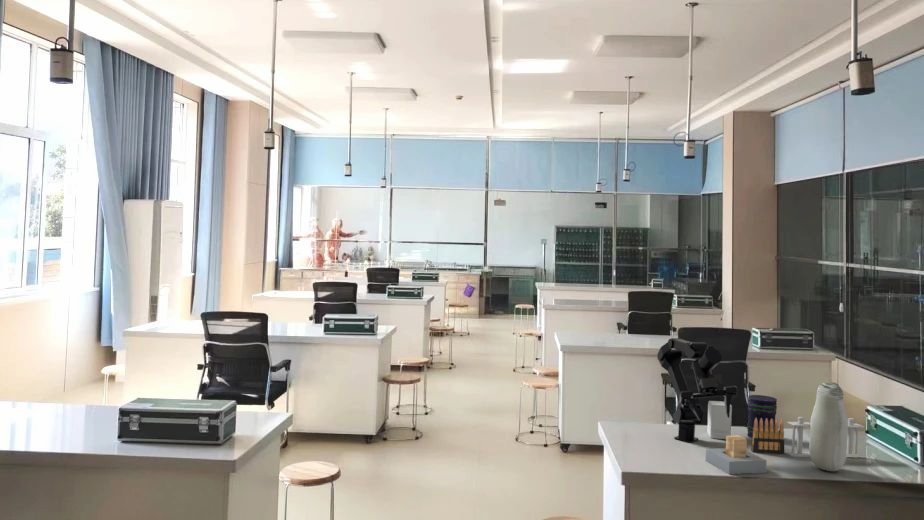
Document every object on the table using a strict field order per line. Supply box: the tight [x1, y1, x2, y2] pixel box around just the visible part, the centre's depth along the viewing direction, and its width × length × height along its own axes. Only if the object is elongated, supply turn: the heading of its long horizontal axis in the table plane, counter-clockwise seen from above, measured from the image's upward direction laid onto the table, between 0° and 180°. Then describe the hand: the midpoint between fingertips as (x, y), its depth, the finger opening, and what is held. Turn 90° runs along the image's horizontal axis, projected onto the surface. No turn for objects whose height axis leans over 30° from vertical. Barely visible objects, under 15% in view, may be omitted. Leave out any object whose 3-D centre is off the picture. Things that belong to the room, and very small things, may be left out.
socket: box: [705, 447, 767, 475], centre depth 213 cm, size 13×13×4 cm
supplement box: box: [706, 400, 733, 440], centre depth 249 cm, size 7×7×13 cm
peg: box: [725, 435, 748, 458], centre depth 213 cm, size 4×4×9 cm
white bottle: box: [809, 382, 848, 472], centre depth 213 cm, size 10×10×28 cm
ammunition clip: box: [750, 418, 785, 455], centre depth 230 cm, size 11×2×12 cm, turn 87°
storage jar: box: [746, 394, 778, 439], centre depth 249 cm, size 10×10×15 cm
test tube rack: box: [785, 416, 865, 458], centre depth 229 cm, size 25×4×13 cm, turn 92°
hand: (714, 418), depth 223 cm, fingers open, 9 cm apart
